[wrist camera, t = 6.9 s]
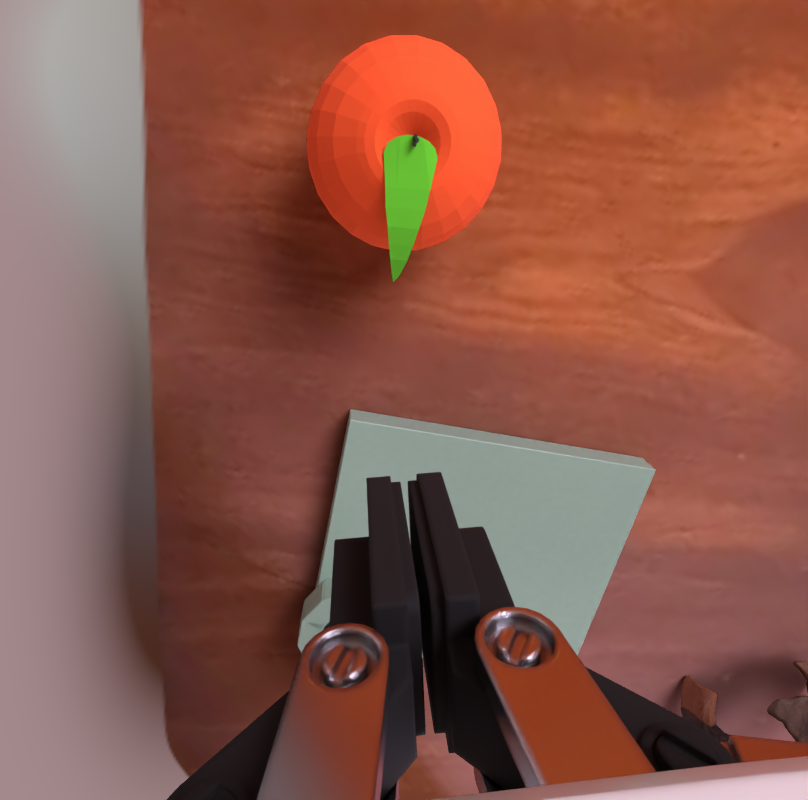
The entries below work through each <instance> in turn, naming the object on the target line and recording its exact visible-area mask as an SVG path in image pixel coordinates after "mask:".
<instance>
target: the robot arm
mask: <svg viewBox="0 0 808 800" xmlns="http://www.w3.org/2000/svg"><path fill="white" fill-rule="evenodd" d="M366 482H367V506H368V530H369V537H358V538H347V539H336V540H335V542H334V556H333V572H332V589H331V606H330V623H329V628H326V629H324V630H322V631H321V632H319V633H318V634H316V635H315V636H313V638H312V639H311V640H310V641H309V642H308V643H307V644H306V645H305V647H304V649H303V651H302V653H301V655H300V657H299V660H298V664H297V667H296V670H295V674H294V677H293V680H292V684H291V687H290V690H289V691H288V692H287V693H286V694H285V695H284V696H282V697H281V698H280V699H279V700H278V701H277V702H275V703H274V704H273V705H272V706H271V707H270V708H269V709H267V710H266V711H265V712H264V713H263V714H262V715H261V716H259V717H258V718H257V719H256V720H255V721H254V722H253V723H251V724H250V725H249V726H248V727H247V728H246V729H244V730H243V731H242V732H241V733H240V734H239V735H238V736H236V737H235V738H234V739H233V740H232V741H231V742H230V743H228V744H227V745H226V746H225V747H224V748H223V749H221V750H220V751H219V752H218V753H217V754H216V755H215V756H213V757H212V758H211V759H210V760H209V761H208V762H207V763H205V764H204V765H203V766H202V767H201V768H200V769H199V770H197V771H196V772H195V773H194V774H193V775H192V776H190V777H189V778H188V779H187V780H186V781H185V782H184V783H182V784H181V785H180V786H179V787H178V788H177V789H176V790H175V791H174V792H173V793H172V794H171V796H170V797H169V798H168V799H167V800H399V786H398V780H399V779H400V777H401V776H402V775H403V774H404V772H405V771H406V770H407V769H408V767H409V766H410V765H411V764H412V762H413V761H414V760H415V759H416V757H417V747H416V736H418V735H425V709H424V686H423V662H422V653H423V660H424V667H425V673H426V680H427V687H428V694H429V700H430V707H431V714H432V720H433V727H434V732H435V734H436V733H444V732H445V733H446V738H447V744H448V750H449V753H456V754H457V755H459V756H460V757H461V758H463V759H464V760H465V761H467V762H468V763H470V764H471V765H472V766H474V775H475V780H476V784H477V787H478V790H479V794H470V795H462V796H454V797H446V798H438V799H430V800H808V743H800V742H791V741H782V740H772V739H763V738H754V737H745V736H735V735H730V737H729V741H728V743H726V742H719V741H718V740H717V739H716V738H715V737H714V736H712V735H711V734H709V733H708V732H706V731H705V730H703V729H702V728H700V727H699V726H697V725H695V724H693V723H691V722H690V721H688V720H686V719H684V718H682V717H680V716H678V715H676V714H674V713H672V712H670V711H669V710H667V709H665V708H663V707H661V706H659V705H657V704H655V703H653V702H651V701H649V700H647V699H646V698H644V697H642V696H640V695H638V694H636V693H634V692H632V691H630V690H628V689H626V688H625V687H623V686H621V685H619V684H617V683H615V682H613V681H611V680H609V679H607V678H605V677H604V676H602V675H600V674H598V673H596V672H594V671H592V670H590V669H588V668H586V667H585V666H584V665H583V663H582V662H581V660H580V659H579V657H578V656H577V654H576V653H575V651H574V650H573V649H572V647H571V646H570V644H569V643H568V641H567V640H566V638H565V637H564V635H563V634H562V632H561V631H560V629H559V628H558V627H557V626H556V625H555V624H554V623H553V622H552V621H551V620H550V619H548V618H547V617H545V616H544V615H542V614H541V613H539V612H536V611H533V610H530V609H528V608H521V607H515V605H514V602H513V600H512V597H511V595H510V592H509V590H508V587H507V585H506V582H505V580H504V577H503V575H502V572H501V569H500V567H499V564H498V562H497V559H496V557H495V554H494V552H493V549H492V547H491V544H490V541H489V539H488V536H487V534H486V531H485V529H484V528H483V527H482V526H480V527H469V528H459V527H458V524H457V521H456V517H455V514H454V511H453V508H452V505H451V502H450V499H449V495H448V492H447V489H446V486H445V483H444V480H443V476H442V473H441V472H432V473H420V474H417V475H416V480H413V481H408V502H409V522H410V538H409V532H408V525H407V519H406V513H405V507H404V501H403V495H402V488H401V482H391V477H390V476H384V477H371V478H366ZM410 543H411V544H410Z"/></svg>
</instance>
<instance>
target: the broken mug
mask: <svg viewBox="0 0 808 800" xmlns="http://www.w3.org/2000/svg"><path fill="white" fill-rule="evenodd" d="M793 664H794V666H795V667H796V668H797V669H798V670H799V671H800V672H801V673H802V674H803V676H804V677H805V679H806V681H807V683H806V685H807V690H808V663H807V662H802V661H794V662H793ZM716 703H717V695H716V693H715V692H713V691H711V690H709V689H707V688H705V687H702V686H701V685H699V684H698V683H697V682H696V681H695V680H694V679H692V678H691V677H690V676H686V677H685V678H684V682H683V685H682V691H681V706H682V707H681V711H682V715H683V716H682V717H683V718H684V719H686V720H688V721H690V722H691V723H693V724H695V725H697V726H699V727H700V728H702V729H703V730H705V731H706V732H708V733H709V734H711V735H712V736H714V737H715V738H716V739H717V740H718V741H719V742H726V743H728V741H729V737H730V735H728V734H726V733H724V732H723V731H722V730H721V729H720V728H719V727H718V726H717V725H716V717H715V714H716ZM767 712H768V713H769V714H770V715H771V716H773V717H774V718H776V719H777V720H779V721H781V722H783V724H784V726H785V728H786V729H787V730H788V732H789V733H790V734H791V735H792V737H793V738H794V739H795V741H796V742H800V743H808V696H797V697H793V698H789V699H784V698H781V699H777V700H776V701H774V702H773V703H772V704H771V705H770V706H769V707H768V710H767Z"/></svg>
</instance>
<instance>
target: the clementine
mask: <svg viewBox="0 0 808 800" xmlns="http://www.w3.org/2000/svg"><path fill="white" fill-rule="evenodd" d="M501 138H502V132H501V127H500V122H499V118H498V113H497V108H496V104H495V102H494V100H493V98H492V96H491V94H490V92H489V90H488V88H487V85H486V83H485V81H484V79H483V78H482V77H481V76H480V75H479V74H478V72H477V71H476V70H475V69H474V68H473V66H472V65H471V64H470V63H469V62H468V61H467V59H466V58H464V57H463V56H461V55H460V54H458V53H457V52H455V51H454V50H452V49H451V48H449V47H448V46H446V45H445V44H443V43H441V42H437V41H434V40H431V39H428V38H424V37H421V36H418V35H392V36H387V37H384V38H381V39H378V40H375V41H372V42H369V43H366V44H363V45H362V46H360V47H359V48H358V49H356V50H355V51H353V52H352V53H351V54H349V55H348V56H347V57H345V58H344V59H342V60H341V61H340V62H339V64H338V65H337V66H336V67H335V69H334V70H333V71H332V73H331V74H330V75H329V76H328V78H327V79H326V80H325V81H324V83H323V85H322V87H321V89H320V91H319V94H318V96H317V99H316V101H315V103H314V106H313V108H312V110H311V114H310V120H309V127H308V133H307V140H306V141H307V152H308V163H309V170H310V173H311V176H312V179H313V182H314V185H315V188H316V191H317V194H318V195H319V197H320V199H321V200H322V202H323V203H324V205H325V206H326V208H327V209H328V211H329V213H330V214H331V216H332V217H333V218H334V219H335V220H336V221H337V222H338V223H339V224H340V225H342V226H343V227H344V228H345V229H346V230H347V231H348V232H349V233H350V234H352V235H353V236H355V237H357V238H359V239H361V240H363V241H365V242H366V243H368V244H370V245H372V246H376V247H380V248H385V249H389V253H390V263H391V272H392V279H393V282H394V281H395V280H396V279H397V278H398V276H399V275H400V274H401V272H402V270H403V268H404V266H405V264H406V262H407V260H408V258H409V255H410V253H411V250H420V249H423V248H426V247H429V246H433V245H436V244H439V243H442V242H444V241H445V240H447V239H448V238H450V237H452V236H453V235H455V234H456V233H458V232H459V231H461V230H462V229H464V228H465V227H466V226H467V225H468V224H469V222H470V221H471V220H472V219H473V218H474V217H475V216H476V215H477V214H478V213H479V212H480V210H481V209H482V207H483V205H484V204H485V202H486V200H487V198H488V196H489V194H490V193H491V191H492V189H493V187H494V184H495V180H496V176H497V173H498V169H499V165H500V162H501Z"/></svg>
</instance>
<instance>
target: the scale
mask: <svg viewBox="0 0 808 800" xmlns="http://www.w3.org/2000/svg"><path fill="white" fill-rule="evenodd" d="M432 472H441V473H442V476H443V480H444V483H445V486H446V489H447V492H448V495H449V499H450V502H451V505H452V508H453V511H454V514H455V517H456V521H457V524H458V527H459V528H469V527H480V526H482V527H483V528H484V529H485V531H486V534H487V536H488V539H489V541H490V544H491V547H492V549H493V552H494V554H495V557H496V559H497V562H498V564H499V567H500V569H501V572H502V575H503V577H504V580H505V582H506V585H507V587H508V590H509V592H510V595H511V597H512V600H513V602H514V605H515V607H521V608H528V609H530V610H533V611H536V612H539V613H541V614H542V615H544V616H545V617H547V618H548V619H550V620H551V621H552V622H553V623H554V624H555V625H556V626H557V627H558V628H559V629H560V631H561V632H562V634H563V635H564V637H565V638H566V640H567V641H568V643H569V644H570V646H571V647H572V649H573V650H574V651H575V653H576V654H577V655H578V653H579V650H580V648H581V646H582V643H583V641H584V639H585V636H586V634H587V632H588V629H589V627H590V624H591V622H592V620H593V617H594V615H595V613H596V610H597V608H598V605H599V603H600V601H601V598H602V596H603V594H604V591H605V589H606V587H607V584H608V582H609V579H610V577H611V575H612V572H613V570H614V568H615V565H616V563H617V560H618V558H619V556H620V553H621V551H622V549H623V546H624V544H625V542H626V539H627V537H628V534H629V532H630V530H631V527H632V525H633V523H634V520H635V518H636V515H637V513H638V511H639V508H640V506H641V504H642V501H643V499H644V497H645V494H646V492H647V489H648V487H649V485H650V482H651V480H652V478H653V475H654V473H655V469H654V468H653V467H652V466H651V465H650V464H649V463H648V462H647V461H645V460H644V459H643V458H641V457H635V456H629V455H623V454H617V453H611V452H605V451H599V450H593V449H587V448H581V447H575V446H569V445H563V444H557V443H551V442H545V441H539V440H533V439H527V438H521V437H515V436H509V435H503V434H497V433H491V432H485V431H479V430H473V429H467V428H461V427H455V426H449V425H443V424H437V423H431V422H424V421H418V420H412V419H406V418H400V417H394V416H388V415H382V414H376V413H370V412H364V411H358V410H352V409H350V412H349V417H348V422H347V427H346V433H345V438H344V443H343V448H342V453H341V458H340V464H339V469H338V474H337V479H336V484H335V490H334V495H333V500H332V505H331V510H330V515H329V521H328V526H327V531H326V536H325V541H324V546H323V552H322V557H321V562H320V567H319V572H318V578H317V583H316V588H315V590H314V591H313V592H312V593H311V594H310V595H309V596H308V597H307V598H306V599H305V600H304V604H303V610H302V615H301V620H300V627H299V635H298V642H297V645H298V648H299V649H300V651H301V653H302V651H303V649H304V647H305V645H306V644H307V643H308V642H309V641H310V640H311V639H312V638H313V636H315V635H316V634H318V633H319V632H321V631H322V630H324V629H326V628H329V623H330V606H331V589H332V572H333V556H334V542H335V540H336V539H347V538H358V537H369V530H368V506H367V482H366V478H371V477H384V476H390V477H391V482H401V488H402V495H403V501H404V507H405V513H406V519H407V525H408V532H409V538H410V522H409V502H408V481H413V480H416V475H417V474H420V473H432ZM410 544H411V543H410ZM422 658H423V653H422Z"/></svg>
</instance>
